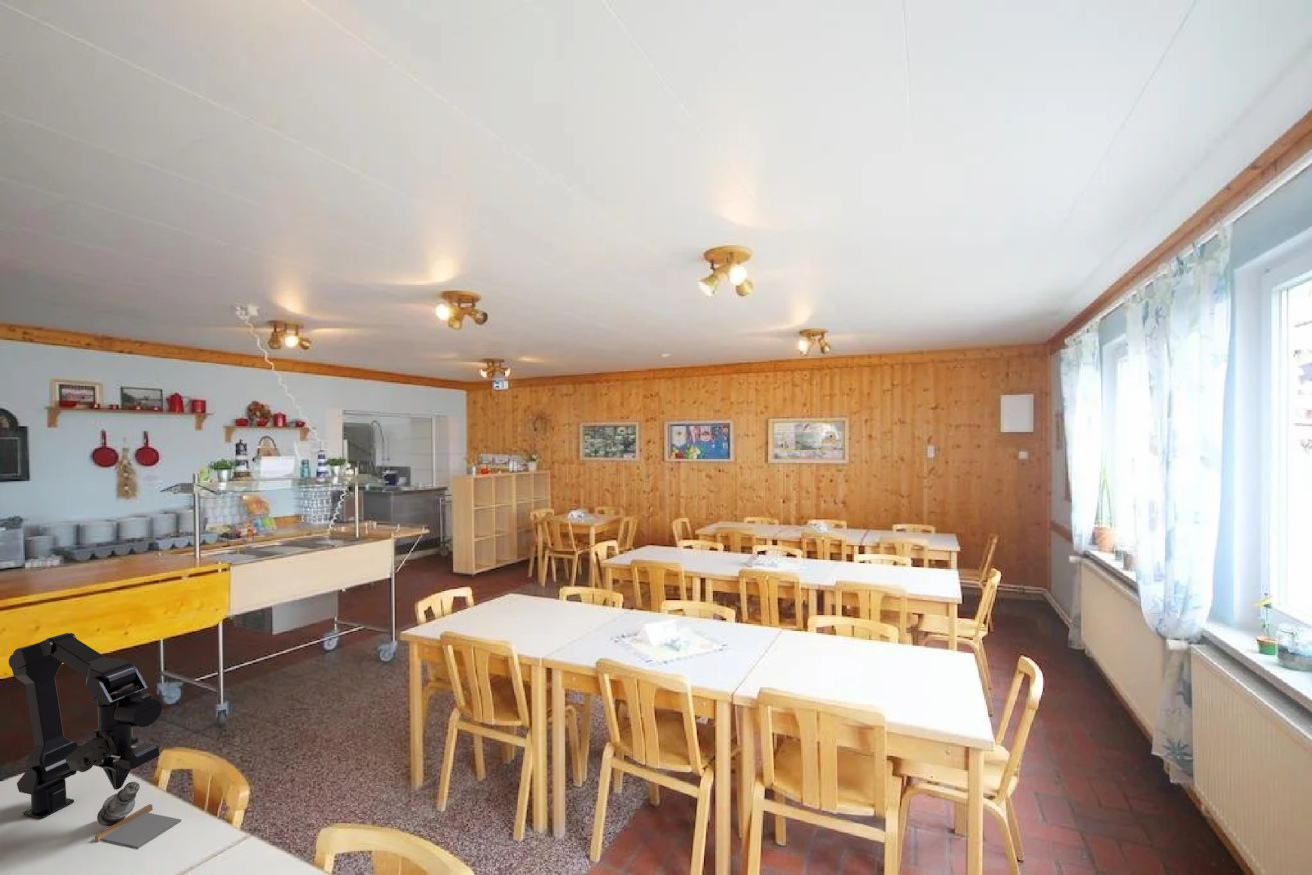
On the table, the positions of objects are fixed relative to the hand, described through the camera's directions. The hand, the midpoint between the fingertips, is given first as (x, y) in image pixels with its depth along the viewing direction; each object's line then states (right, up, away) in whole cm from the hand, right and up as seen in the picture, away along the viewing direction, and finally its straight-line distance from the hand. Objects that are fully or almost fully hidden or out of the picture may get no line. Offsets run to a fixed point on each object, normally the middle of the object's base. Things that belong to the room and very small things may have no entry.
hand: (117, 788), depth 134 cm
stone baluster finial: (-2, -7, +1) cm, 7 cm away
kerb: (+2, -8, 0) cm, 8 cm away
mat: (+7, -8, -2) cm, 11 cm away
